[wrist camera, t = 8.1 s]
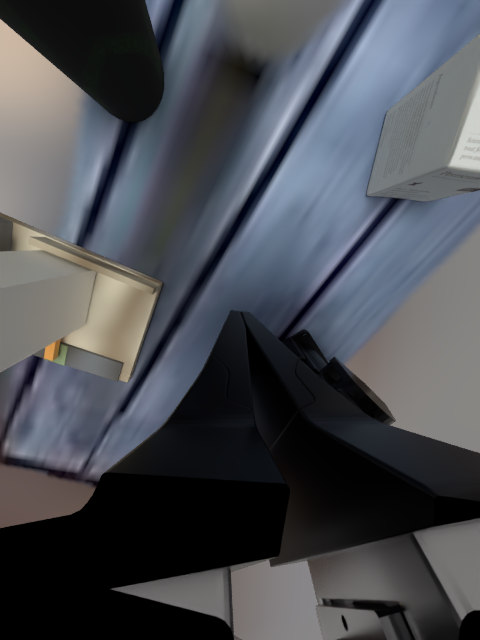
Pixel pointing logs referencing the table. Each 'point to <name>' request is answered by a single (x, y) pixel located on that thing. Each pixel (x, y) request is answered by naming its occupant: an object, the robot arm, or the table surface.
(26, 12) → the cup
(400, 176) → the skincare box
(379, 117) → the table surface
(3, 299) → the gauge slider
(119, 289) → the frame
